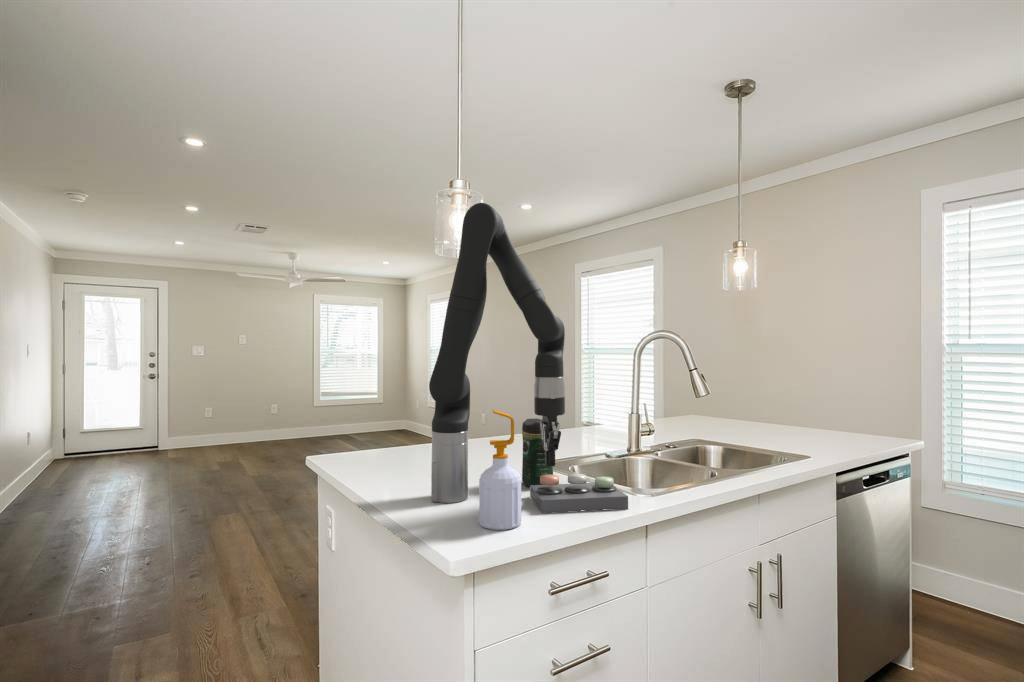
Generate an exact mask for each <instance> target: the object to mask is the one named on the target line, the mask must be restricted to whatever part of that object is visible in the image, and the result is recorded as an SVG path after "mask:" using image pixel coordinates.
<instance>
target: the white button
mask: <svg viewBox="0 0 1024 682" xmlns="http://www.w3.org/2000/svg"><path fill="white" fill-rule="evenodd" d="M585 483H588V481H587V475H586V474H583V473H569V474H568V475H567V484H585Z"/></svg>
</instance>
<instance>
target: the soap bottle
mask: <svg viewBox="0 0 1024 682" xmlns="http://www.w3.org/2000/svg"><path fill="white" fill-rule="evenodd" d="M492 413H493V414H495V415H499V416H500V417H501V416H502V417H505V418H507V419H509V420H510V436H509V438H508V439H494V440H493V439H492V440H489V445H490V446H493V448H494V449H496V453H495V454H494V453H493V454H492V465H490V467H488V468H487V469H485V470H484V471H483V472H482V473H481V474H480V477H479V479H478V480H479V482H478V483H479V485H478V486H479V491H478V492H479V495H478V496H479V498H478V501H479V502H478V503H479V505H478V507H479V512H478V513H479V514H478V515H479V517H478V518H479V521H478V522H479V524H480V526H481V527H483V528H485V529H488V530H493V531H506V530H507V529H508V530H512V529H515V528H517V527H519V526H520V525H521V522H522V476H521V474H520V473H519V472H518V471H517V470H516V469H515V468H513V467H512V466H510V465H509V455H508V454H506V453H505V449H507V447H508V446H510V445H512V444H514V441H515V420H514V419H513V417H512V415H510V414H509V413H506V412H502V411H500V410H496V409H492Z"/></svg>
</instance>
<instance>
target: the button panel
mask: <svg viewBox="0 0 1024 682" xmlns="http://www.w3.org/2000/svg"><path fill="white" fill-rule="evenodd" d="M529 497H530V499H531V500H532V502H533V503H534V504H535V506H536V508H537V509H538V510H539V512H540V513H541V514H551V513H552V512H558V513H569V512H568V511H578V512H582V511H581V510H598V511H604V510H603V509H619V510H628V509H629V496H628V495H627V494H626V493H624V492H623V491H621V490H620V489H618V488H617V487H616V486H615V485H614V486H613V487H598V486H595V482H586V483H585V484H571V483H559V484H558V485H551V486H549V485H530V487H529ZM552 514H553V513H552Z"/></svg>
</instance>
